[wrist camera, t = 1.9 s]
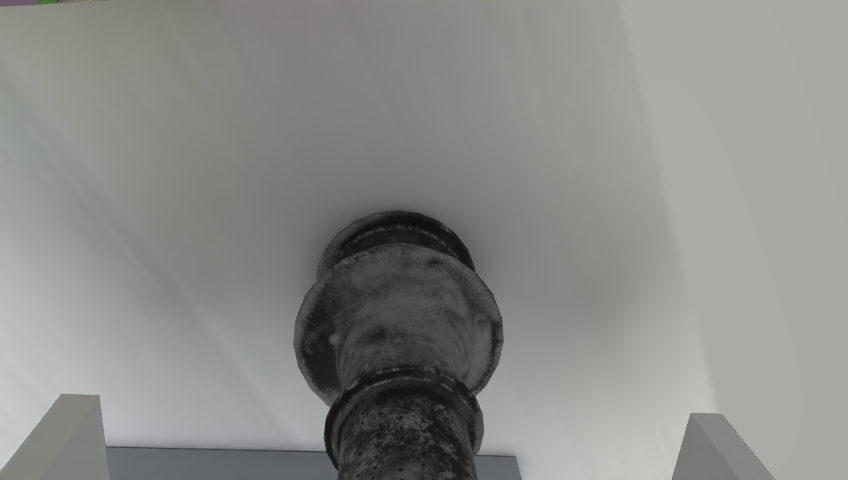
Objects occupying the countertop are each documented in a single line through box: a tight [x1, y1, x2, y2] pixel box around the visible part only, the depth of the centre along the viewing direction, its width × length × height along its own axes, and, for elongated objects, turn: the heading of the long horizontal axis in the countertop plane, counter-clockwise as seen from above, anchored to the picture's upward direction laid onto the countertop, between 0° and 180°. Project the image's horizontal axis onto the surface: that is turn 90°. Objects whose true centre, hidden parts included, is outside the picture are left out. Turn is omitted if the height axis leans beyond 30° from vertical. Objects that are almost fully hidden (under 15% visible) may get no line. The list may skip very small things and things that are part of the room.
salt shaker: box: [294, 211, 504, 480], centre depth 15 cm, size 6×6×12 cm
